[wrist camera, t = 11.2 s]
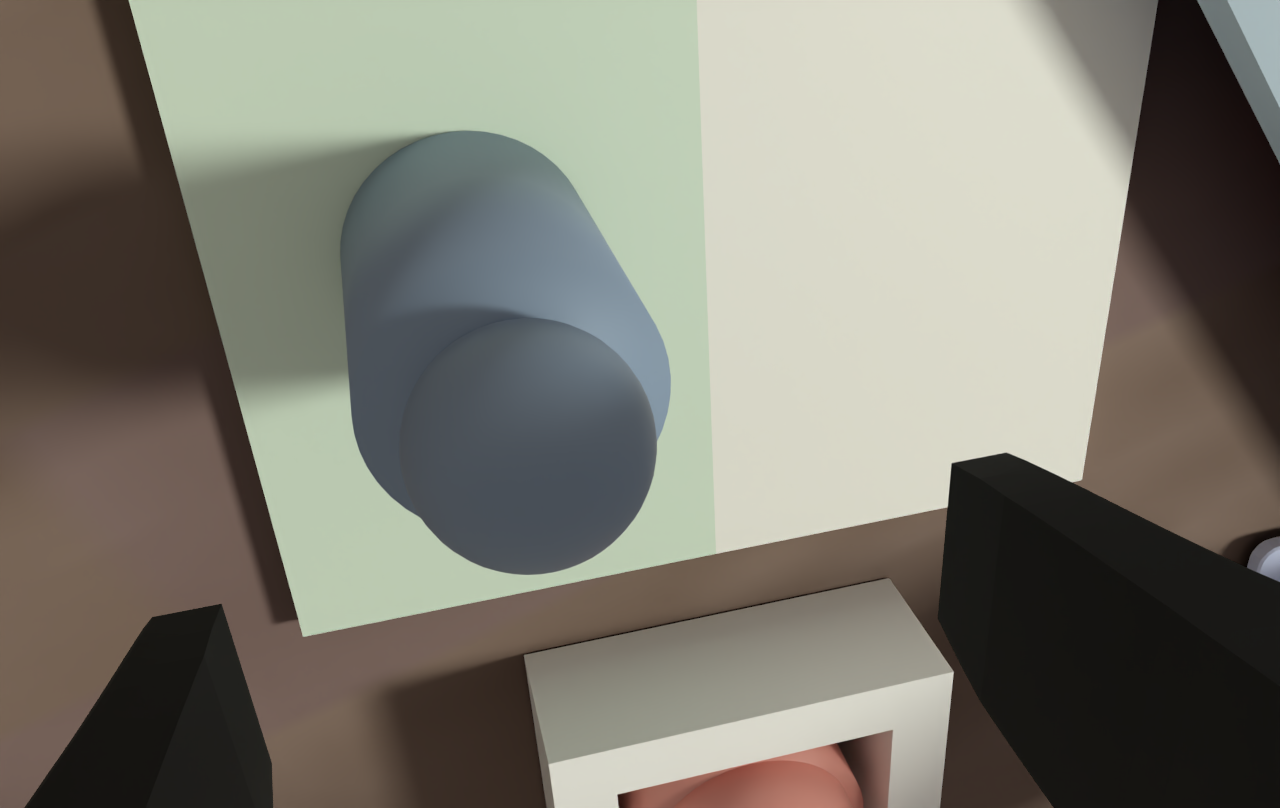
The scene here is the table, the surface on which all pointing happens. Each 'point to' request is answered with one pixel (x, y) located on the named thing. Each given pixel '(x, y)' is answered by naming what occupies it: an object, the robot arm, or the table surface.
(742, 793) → the dome
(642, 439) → the pawn
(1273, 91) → the maze game
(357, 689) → the table surface
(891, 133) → the pale green flat slab
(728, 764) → the dome housing
